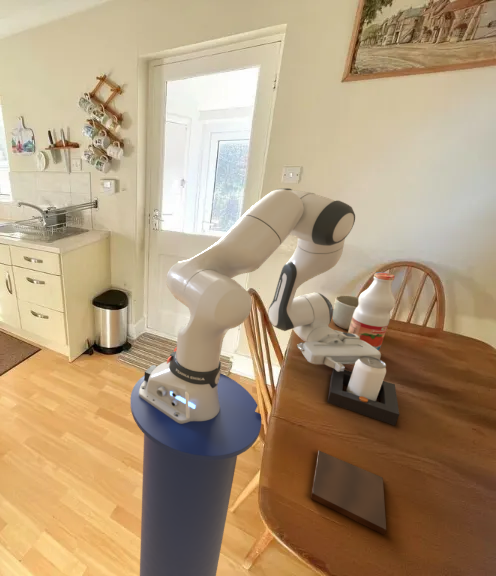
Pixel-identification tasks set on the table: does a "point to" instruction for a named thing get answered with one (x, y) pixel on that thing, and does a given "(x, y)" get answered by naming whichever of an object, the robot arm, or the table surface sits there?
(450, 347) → the table surface
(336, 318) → the planter
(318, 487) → the board
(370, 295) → the fruit juice
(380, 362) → the can
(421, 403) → the table surface
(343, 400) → the processor base
